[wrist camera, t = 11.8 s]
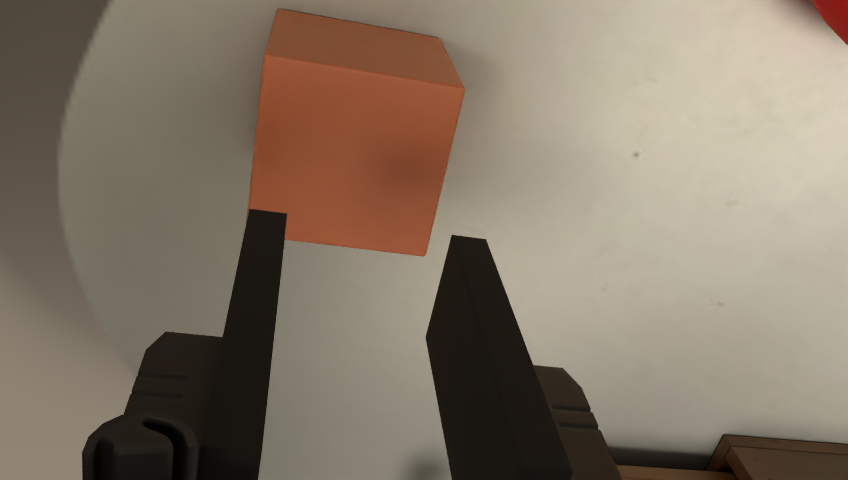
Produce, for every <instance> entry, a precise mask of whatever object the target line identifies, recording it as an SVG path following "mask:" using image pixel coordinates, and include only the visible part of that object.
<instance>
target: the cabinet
mask: <svg viewBox="0 0 848 480" xmlns="http://www.w3.org/2000/svg"><path fill="white" fill-rule="evenodd" d="M705 471H712V472H726V473H735V475H736V476H737V478H738V479H739V480H848V445H842V444H830V443H817V442H805V441H792V440H780V439H767V438H755V437H742V436H730V435H724V436H723V438H722V440H721V442H720V444H719V446H718V448H717V449H716V451H715V453H714V455H713V457H712V459H711V461H710V463H709V465H708V466H707V468H706V470H705Z"/></svg>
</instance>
